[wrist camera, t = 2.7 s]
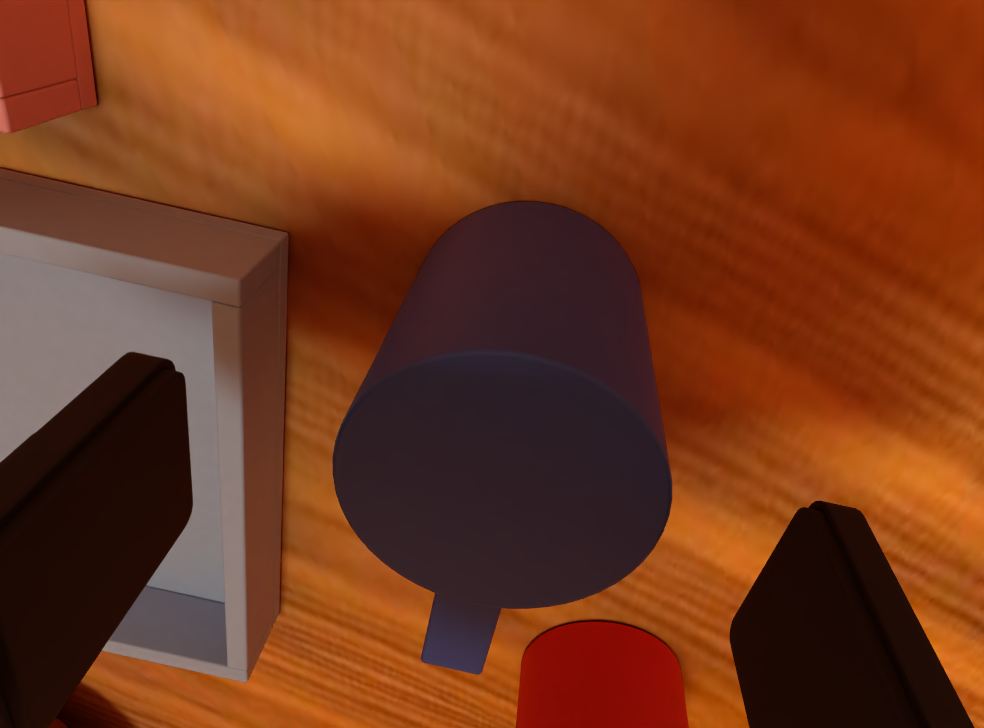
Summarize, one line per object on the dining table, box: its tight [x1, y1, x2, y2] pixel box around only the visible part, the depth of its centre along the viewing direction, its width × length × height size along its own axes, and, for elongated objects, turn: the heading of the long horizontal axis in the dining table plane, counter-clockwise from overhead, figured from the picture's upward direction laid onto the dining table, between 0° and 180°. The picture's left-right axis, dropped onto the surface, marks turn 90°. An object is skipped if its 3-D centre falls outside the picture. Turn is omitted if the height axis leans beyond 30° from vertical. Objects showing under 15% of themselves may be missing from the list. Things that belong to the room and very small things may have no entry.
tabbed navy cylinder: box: [333, 201, 672, 674], centre depth 13 cm, size 8×5×6 cm, turn 169°
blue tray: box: [0, 168, 289, 682], centre depth 17 cm, size 13×11×2 cm
